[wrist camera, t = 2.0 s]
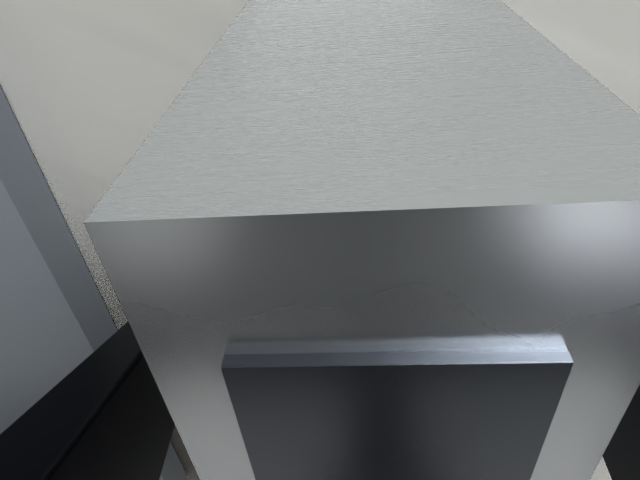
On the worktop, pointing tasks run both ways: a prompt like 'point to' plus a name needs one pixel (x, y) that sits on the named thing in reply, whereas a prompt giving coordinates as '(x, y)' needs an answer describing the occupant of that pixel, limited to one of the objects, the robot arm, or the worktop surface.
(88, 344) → the drive dock
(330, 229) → the drive
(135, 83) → the worktop surface
